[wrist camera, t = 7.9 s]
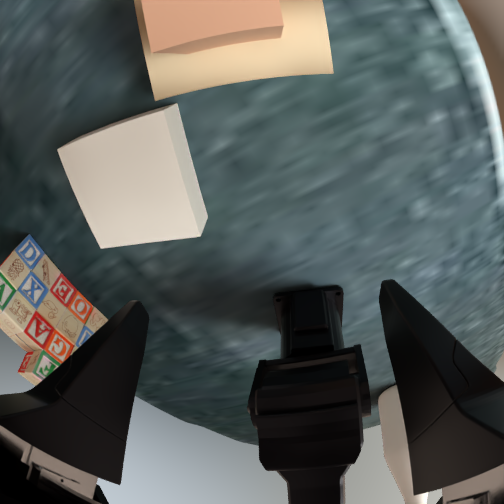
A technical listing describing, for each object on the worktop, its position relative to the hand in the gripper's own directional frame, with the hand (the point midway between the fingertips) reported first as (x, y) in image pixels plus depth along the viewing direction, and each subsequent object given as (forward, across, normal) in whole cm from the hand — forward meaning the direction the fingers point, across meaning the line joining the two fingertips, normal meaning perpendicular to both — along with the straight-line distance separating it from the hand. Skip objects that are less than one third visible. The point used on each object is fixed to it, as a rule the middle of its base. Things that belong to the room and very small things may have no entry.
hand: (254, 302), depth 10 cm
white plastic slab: (+12, +9, -2) cm, 15 cm away
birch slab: (+12, 0, -12) cm, 17 cm away
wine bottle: (+13, -18, +40) cm, 46 cm away
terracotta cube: (+9, 0, -12) cm, 15 cm away
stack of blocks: (+12, +27, +12) cm, 31 cm away
